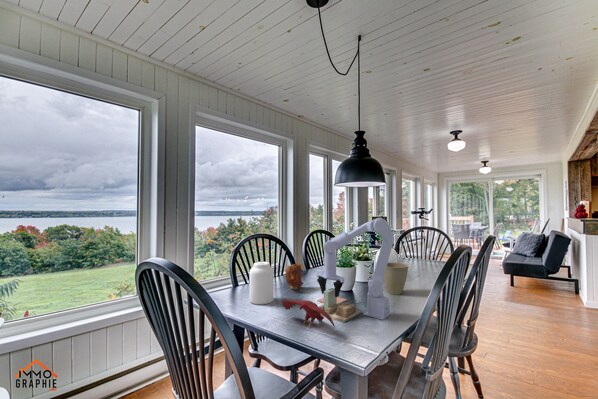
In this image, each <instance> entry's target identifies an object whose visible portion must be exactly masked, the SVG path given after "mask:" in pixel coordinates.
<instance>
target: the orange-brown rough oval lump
mask: <svg viewBox="0 0 598 399" xmlns="http://www.w3.org/2000/svg"><path fill="white" fill-rule="evenodd" d="M303 272H304V270H303V269H302V265H301V264H299V263H294V264H290V265H287V266H286V270H285V281H286V283H287V285H289V289H291V290H301V289H302V286H303V285H304V282H303V281H302V273H303Z"/></svg>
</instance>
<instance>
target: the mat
mask: <svg viewBox="0 0 598 399" xmlns="http://www.w3.org/2000/svg"><path fill="white" fill-rule="evenodd" d="M316 301H317V302H318V303H322V304H324V297H321V298H319V299H317V300H316ZM347 301H348V299H347V298H342V297H339V296H338V297H337V304H338V303H342V304H344V303H346V302H347Z"/></svg>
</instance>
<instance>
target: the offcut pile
mask: <svg viewBox="0 0 598 399" xmlns="http://www.w3.org/2000/svg"><path fill="white" fill-rule="evenodd" d="M356 310H357V308H356V307H355V304H353V303H349V302H343V303H342V305H340V306H338V307H337V311H336V315H337V316H341V317H344V318H346V317H348V316H350V315H351V314H353V313H355V312H356Z"/></svg>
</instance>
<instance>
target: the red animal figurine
mask: <svg viewBox="0 0 598 399" xmlns="http://www.w3.org/2000/svg"><path fill="white" fill-rule="evenodd" d="M282 305H283V308H284V309H285V310H291V308H294V307H296V305H297V306H299V310H300V311H301V310H303V311H304V312H305V317H304V318H305V319H304V322H302V323H301V324H302V325H305V323H306V321H308V320H310V322H309V324H308V325H306V326H308V327H310V325H311V324H312V323H314V321H315V320H318V321H320V322H323V320H324V319H325V318H326V319H327V320H328V321H329V322H330V324H331V325H332V326H333V327H334V328H336V326H335V324H334V323H335V322H334V321H333V319H331V317H330V316H329V314H328V313H326V312H325V311H324V310H322V309H321V308H319V306H318V304H316V303H315V302H314V301H311V300H306V299H305V300H293V299H289V300H288V299H286V300H283V301H282ZM321 314H322V315H324V316H325V317H324V316H322V315H321Z"/></svg>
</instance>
